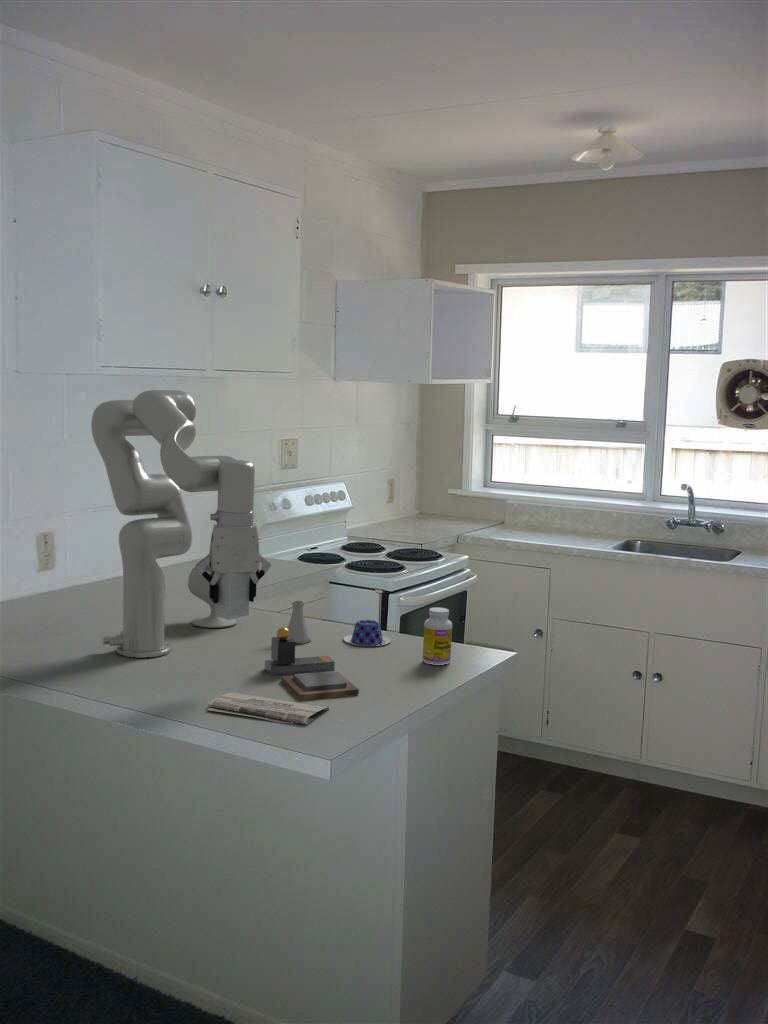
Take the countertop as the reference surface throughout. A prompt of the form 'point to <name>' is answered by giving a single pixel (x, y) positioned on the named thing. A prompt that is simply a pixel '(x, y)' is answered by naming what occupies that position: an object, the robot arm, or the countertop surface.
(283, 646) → the handle
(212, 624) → the chalice
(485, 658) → the countertop surface
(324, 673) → the tray
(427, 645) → the supplement bottle
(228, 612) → the skincare box
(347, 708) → the countertop surface
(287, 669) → the rail
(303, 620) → the flask
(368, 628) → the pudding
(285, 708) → the newspaper
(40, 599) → the countertop surface
